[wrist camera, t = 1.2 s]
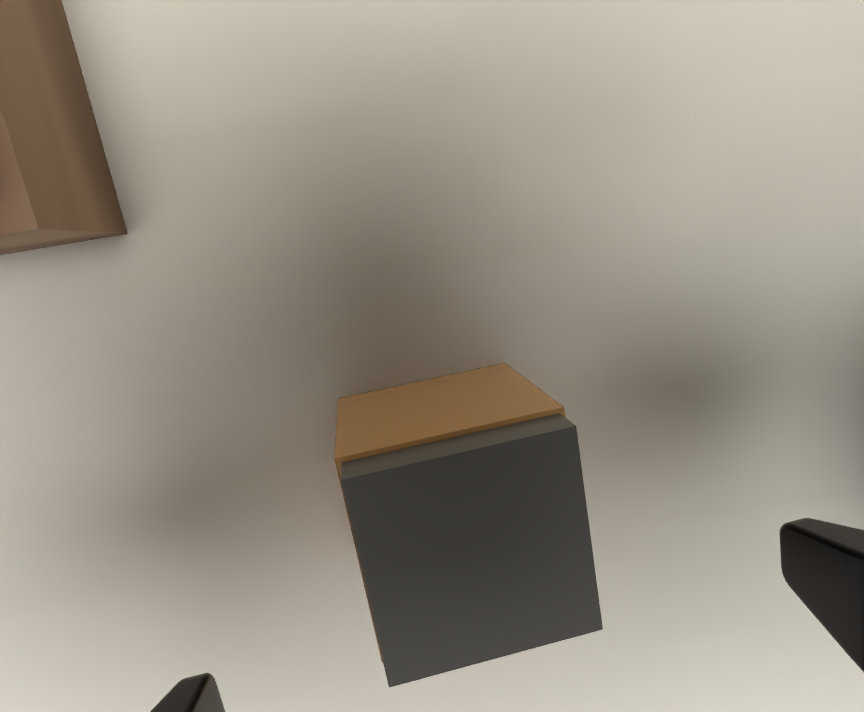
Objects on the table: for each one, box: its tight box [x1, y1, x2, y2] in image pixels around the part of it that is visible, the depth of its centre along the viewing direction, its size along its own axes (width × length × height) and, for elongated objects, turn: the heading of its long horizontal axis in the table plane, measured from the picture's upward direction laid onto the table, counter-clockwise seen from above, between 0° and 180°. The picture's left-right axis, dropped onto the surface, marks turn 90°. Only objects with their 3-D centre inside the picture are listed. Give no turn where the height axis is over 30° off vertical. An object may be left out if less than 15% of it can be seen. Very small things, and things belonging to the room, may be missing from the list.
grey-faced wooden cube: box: [335, 363, 603, 687], centre depth 13 cm, size 4×4×5 cm
